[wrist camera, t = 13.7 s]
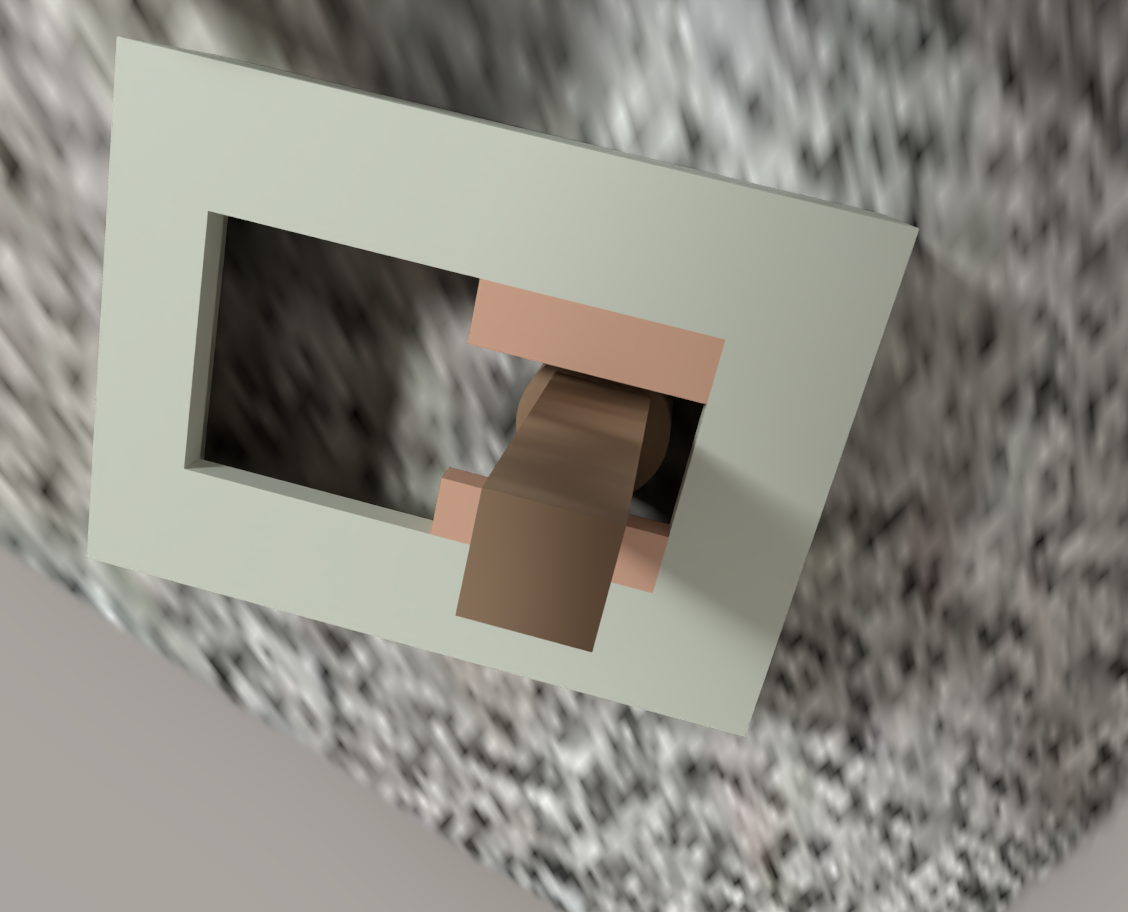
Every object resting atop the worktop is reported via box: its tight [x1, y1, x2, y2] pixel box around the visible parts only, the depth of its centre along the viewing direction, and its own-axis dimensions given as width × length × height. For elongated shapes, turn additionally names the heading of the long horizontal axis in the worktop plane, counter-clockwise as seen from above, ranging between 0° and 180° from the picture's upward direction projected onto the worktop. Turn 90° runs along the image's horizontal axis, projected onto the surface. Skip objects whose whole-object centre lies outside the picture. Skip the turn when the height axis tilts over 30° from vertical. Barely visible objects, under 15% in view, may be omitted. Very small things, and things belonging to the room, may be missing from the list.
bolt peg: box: [455, 363, 673, 652], centre depth 26 cm, size 5×5×14 cm
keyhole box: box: [87, 36, 919, 737], centre depth 30 cm, size 22×16×6 cm
